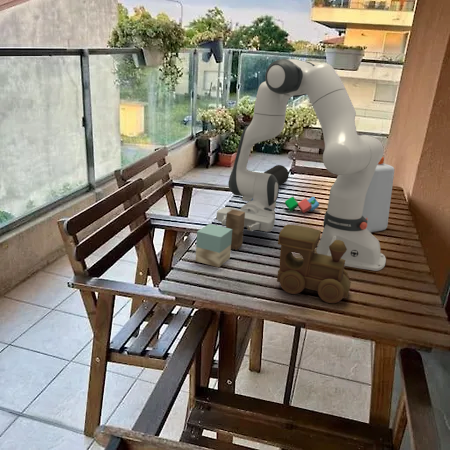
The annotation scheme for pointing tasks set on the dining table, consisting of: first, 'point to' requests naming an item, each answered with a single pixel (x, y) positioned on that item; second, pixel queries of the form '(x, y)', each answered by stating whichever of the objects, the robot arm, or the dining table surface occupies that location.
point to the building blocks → (302, 204)
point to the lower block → (212, 256)
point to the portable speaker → (279, 173)
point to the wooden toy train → (311, 264)
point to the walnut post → (236, 227)
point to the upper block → (214, 238)
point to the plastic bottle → (379, 197)
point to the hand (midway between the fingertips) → (236, 225)
